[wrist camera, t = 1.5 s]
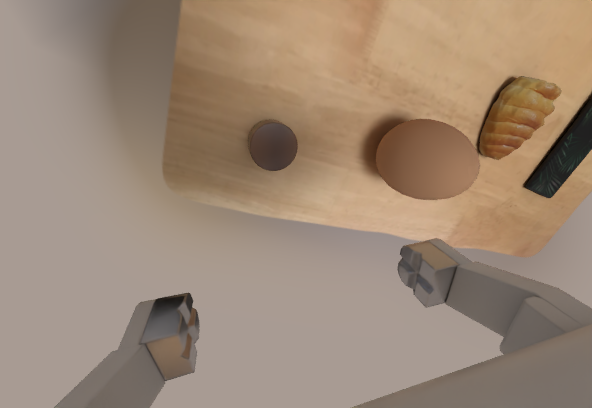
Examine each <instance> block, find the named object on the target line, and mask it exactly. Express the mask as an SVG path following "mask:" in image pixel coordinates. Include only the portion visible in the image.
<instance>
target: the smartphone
mask: <svg viewBox="0 0 592 408" xmlns="http://www.w3.org/2000/svg"><path fill="white" fill-rule="evenodd" d="M591 150H592V99H591V100H589V102H588V103H587V104H586V105H585V107H584V108H583V109H582V111H581V112H580V113H579V117H578V118H577V119H576V120H575V122H574V123H573V124H572V126H571V127H570V128H569V130H568V131H567V132H566V133H565V135H564V136H563V137H562V139H561V140H560V141H559V142H558V144H557V145H556V146H555V148H554V149H553V150H552V152H551V153H550V154H549V155H548V157H547V158H546V159H545V161H544V162H543V163H542V165H541V166H540V167H539V168H538V170H537V171H536V172H535V174H534V175H533V176H532V177H531V179H530V180H529V181H528V183H527V184H526V185H525V187H526V188H527V189H529V190H531V191H533V192H536V193H538V194H540V195H542V196H544V197H546V198H551V197H552V196H553V195H554V194H555V193H556V192H557V190H558V189H559V188H560V187H561V186H562V184H563V183H564V182H565V181H566V180H567V178H568V177H569V176H570V175H571V174H572V172H573V171H574V170H575V169H576V168H577V166H578V165H579V164H580V163H581V162H582V160H583V159H584V158H585V157H586V156H587V154H588V153H589V152H590V151H591Z"/></svg>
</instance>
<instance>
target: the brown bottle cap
mask: <svg viewBox="0 0 592 408" xmlns="http://www.w3.org/2000/svg"><path fill="white" fill-rule="evenodd" d="M248 147H249V150H250V153H251V156H252V158H253V160H254V161H255V163H256V164H257V165H258V166H260V167H261V168H263V169H266V170H270V171H277V170H281V169H284V168H285V167H287V166H288V165H289V164H290V163H291V162H292V161H293V160H294V158H295V156H296V153H297V147H298V146H297V139H296V137H295V134H294V133H293V131H292V130H291V129H290V128H289V127H287V126H286V125H284V124H283V123H281V122H279V121H277V120H271V119H269V120H264V121H261V122H259V123H258V124H256V125H255V126H254V127H253V129H252V130H251V132H250V134H249V137H248Z"/></svg>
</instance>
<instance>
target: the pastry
mask: <svg viewBox="0 0 592 408" xmlns="http://www.w3.org/2000/svg"><path fill="white" fill-rule="evenodd" d="M561 91H562V90H561V88H559V87H558V86H557V85H556V84H554V83H548V82H546V81H544V80H539V79H535V78H529V77H525V76H520V77H518V78H517V79H516V80H514V81H513V82H512V83H511V84H509V85H508V86H507V87H505V88H504V89H503V90H502V91H501V93H500V96H499V98H498V100H497V101H496V102H495V103H494V104H493V106H492V108H491V110H490V112H489V116H488V118H487V120H486V121H485V125H484V127H483V130H482V132H481V137H480V147H479V150H480V152H481V154H482V155H484V156H486V157H490V158H493V159H497V160H499V159H501V158H503V157H505V156H507V155H509V154H510V153H511V152H512V151H514V150H515V149H518V148H519V147H520V146H521V145H522V143H523V142H524V141H525V140H527V139H530V138H531V136H532V134H533V132H534V131H535V130H537V129H538V128H539V127H541V126H543V125H544V118H545V117H546V116H548V115H549V114H551V113H552V112H553V111H554V105H553V101H554V100H555V99H556V98H557V97H558V96H560V94H561Z"/></svg>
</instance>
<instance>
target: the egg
mask: <svg viewBox="0 0 592 408" xmlns="http://www.w3.org/2000/svg"><path fill="white" fill-rule="evenodd" d="M376 164H377V168H378V171H379V173H380V175H381V177H382V178H383V180H384V181H385V182H386V183H387V184H388V185H389V186H390V187H391V188H393V189H394V190H396V191H398V192H400V193H401V194H403V195H406V196H409V197H412V198H415V199H423V200H438V199H447V198H451V197H454V196H456V195H459V194H461V193H462V192H464V191H465V190H467V189H468V188H469V187H470V186H471V185H472V184H473V183H474V181H475V180H476V179H477V176H478V173H479V169H480V163H479V157H478V153H477V151H476V149H475V148H474V146H473V144H472V143H471V142H470V140H469V139H468V138H467V137H466V136H465V135H464V134H463V133H462V132H460V131H459V130H457V129H456V128H455V127H453V126H450V125H448V124H446V123H443V122H439V121H435V120H430V119H416V120H410V121H407V122H404V123H401V124H399V125H398V126H396V127H394V128H393V129H391V130H390V131H389V132H388V133H387V134H386V135H385V136H384V137H383V138H382V140H381V142H380V144H379V146H378V148H377V152H376Z"/></svg>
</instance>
